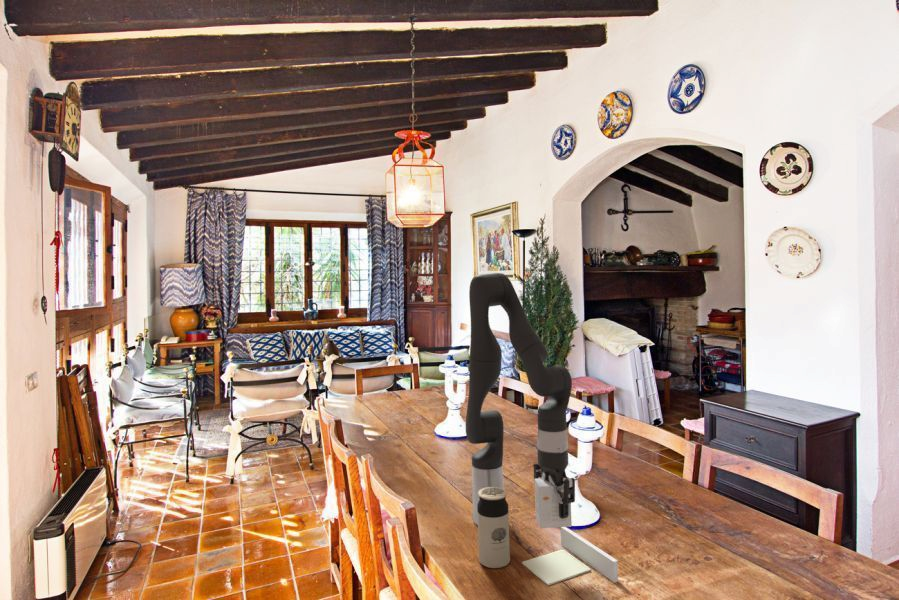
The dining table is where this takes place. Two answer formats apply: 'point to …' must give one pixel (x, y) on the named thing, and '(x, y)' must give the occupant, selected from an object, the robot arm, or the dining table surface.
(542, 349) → the robot arm
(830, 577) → the dining table surface
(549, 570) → the sage mat
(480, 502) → the travel mug
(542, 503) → the small box
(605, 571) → the white wall
